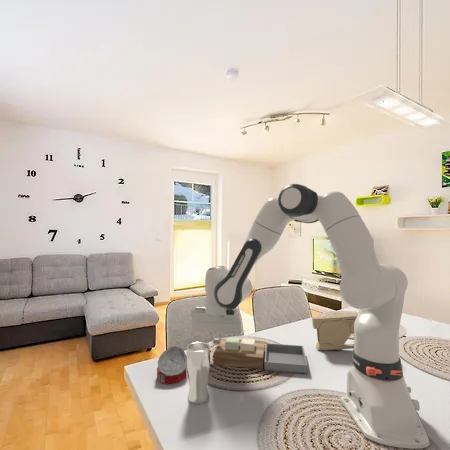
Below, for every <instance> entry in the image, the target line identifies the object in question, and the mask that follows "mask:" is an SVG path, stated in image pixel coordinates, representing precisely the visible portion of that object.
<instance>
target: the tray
mask: <svg viewBox="0 0 450 450" xmlns="http://www.w3.org/2000/svg"><path fill="white" fill-rule="evenodd" d="M308 365H309V364H308V361H307V358H306V353H305V349H304V346H303V345H296V344H295V345H294V344H282V343H281V344H280V343H270V342H269V343H268V342H267V343H265V354H264V372H276V373H277V372H278V373H288V374H289V373H290V374H299V375H301V374H302V375H308V369H309V368H308Z"/></svg>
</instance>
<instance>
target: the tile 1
mask: <svg viewBox="0 0 450 450" xmlns="http://www.w3.org/2000/svg"><path fill="white" fill-rule="evenodd" d="M240 338H241V337H227V338H225V339H226V341H225V349H230V350H238V349H239V346H240V340H241V339H240Z"/></svg>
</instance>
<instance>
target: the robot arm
mask: <svg viewBox="0 0 450 450" xmlns="http://www.w3.org/2000/svg"><path fill="white" fill-rule="evenodd" d="M293 221H294V222H296V223H304V224H314V223H317V222H320V224H321V226H322V228H323V230H324V232H325V233H326V235H327V237H328V240H329V242H330V244H331V247H332V248H333V250H334V253H335V255H336V257H337V261H338V266H339V269H340V276H341V277H340V278H341V279H340V283H339V292H340V295H341V297H342V299H343V301H344V302H345V303H346V304H347V305H349V306H350V307H352V308H354V309H357V310H359V311H358V313H357V314H358V316H357V318H356V320H355V323H354V334H353V344H354V348H352V354H351V355H352V356H351V358H352V364H353V365H351V366H352V367H351V368H350V369H348V371H347V372H346V388H345V389H346V392H345V394H343V395H341V397H340V403H341V404H342V405H343V407H344V409H345V410H346V411H347V413H348V414H349V416H350V417H351V419H352V420H353V422H354V423H355V424H356V426H357V427H358V428H359V430H360V431H361V433H362V434H363V436H364V437H365V438H367V439H368V440H370V441H371V442H375V443H377V444H381V445H384V446H390V447H394V448H400V449H401V448H402V449H409V450H411V449H412V450H414V449H424V448H428V447H429V446H430V444H431V443H430V440H429V437H428V434H427V433H426V430H425V428H424V426H423V424H422V422H421V419H420V417H419V414H418V413H417V411H420V408H421V407H420V403H419V402H420V401H419V400H418V399H414V398H412V397H411V394H412V389H411V387H410V386H407V385H408V384H407V383H406V380H405V376H404V372H403V363H402V360H401V358H400V325H401V320H402V314H403V308H404V301H405V294H406V291H407V288H408V286H409V285H408V284H409V283H408V278H407V276H406V273H404V271H403V270H402V269H400V268H399V267H397V266H395V265H392V264H387V263H379V261H378V259H377V254H376V252H375V247H374V246H375V245H374V244H375V241H374V240H375V239H374V237H373V236H372V234H371V233H370V230H369V229H368V227H367V225H366V224H365V222H364V220H363V218H362V217H361V215H360V213H359V211H358V210H357V208H356V207H355V206H354V205H353V203H352V202H351V200H350V199H349V198H348V197H347V196H346V195H345V194H344V193H343V192H340V191H330V192H328V193H325V194H323V195H319V194H318V193H317V192H316V191H314V190H313V189H311V188H309V187H308V186H305V185H303V184H300V183H299V184H298V183H291V184H288V185H286V186H285V187H283V188H282V189H281V190H280V192H279V195H278V197H270V198H269V199H267V200H266V201H265V203H264V204H263V205H262V206H261V208H260V210H259V211H258V212H257V215H256V216H255V218H254V220H253V222H252V224H251V227H250V229H249V232H248V234H247V237H246V239H245V240H244V243H243V245H242V248H241V249H240V251H239V253H238V255H237V257H236V259H235V261H234V262H233V264H232V266H231V267H230V269H228V267H227V266H224V265H218V266H212V267H210V268H208V269H207V271H206V273H205V278H204V279H205V280H204V289H205V299H204V300H205V301H204V306H201V307H199V306H194V307H193V308H192V309H191V310H190V317H191V320H190V330H191V331H192V332H194V333H195V332H197V333H209V336H210V338H211V340H212V344H213V345H218V344H220V343H221V339H223V336H224V334H230V335H241V334H242V332H243V331H244V329H243V327H244V325H243V319H242V317H243V316H242V315H241V313H240V306H239V305H240V304H241V303H242V302H244V301H245V300H246V299H248V298H249V297H250V295H251V294H252V291H253V286H252V282H251V281H250V279H249V278H248V276H249V275H250V273H251V271H252V269H253V267H254V266H255V265H256V263H257V262H259V260H260V259H261V258H262V257H263V256H265V255H266V254H267V253H269V252H271V250H273V249H274V247H275V246H276V244H277V243H278V241H279V240H280V238H281V237H282V234H283V233H284V231H285V228H286V227H287V226H288V224H289V223H290V222H293ZM214 334H218V335H219V337H215V335H214Z"/></svg>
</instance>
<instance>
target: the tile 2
mask: <svg viewBox="0 0 450 450" xmlns="http://www.w3.org/2000/svg"><path fill="white" fill-rule="evenodd" d="M241 340H242V341H241V350H243V351H254V349H255V341H256V339H255V338H242V339H241Z"/></svg>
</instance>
